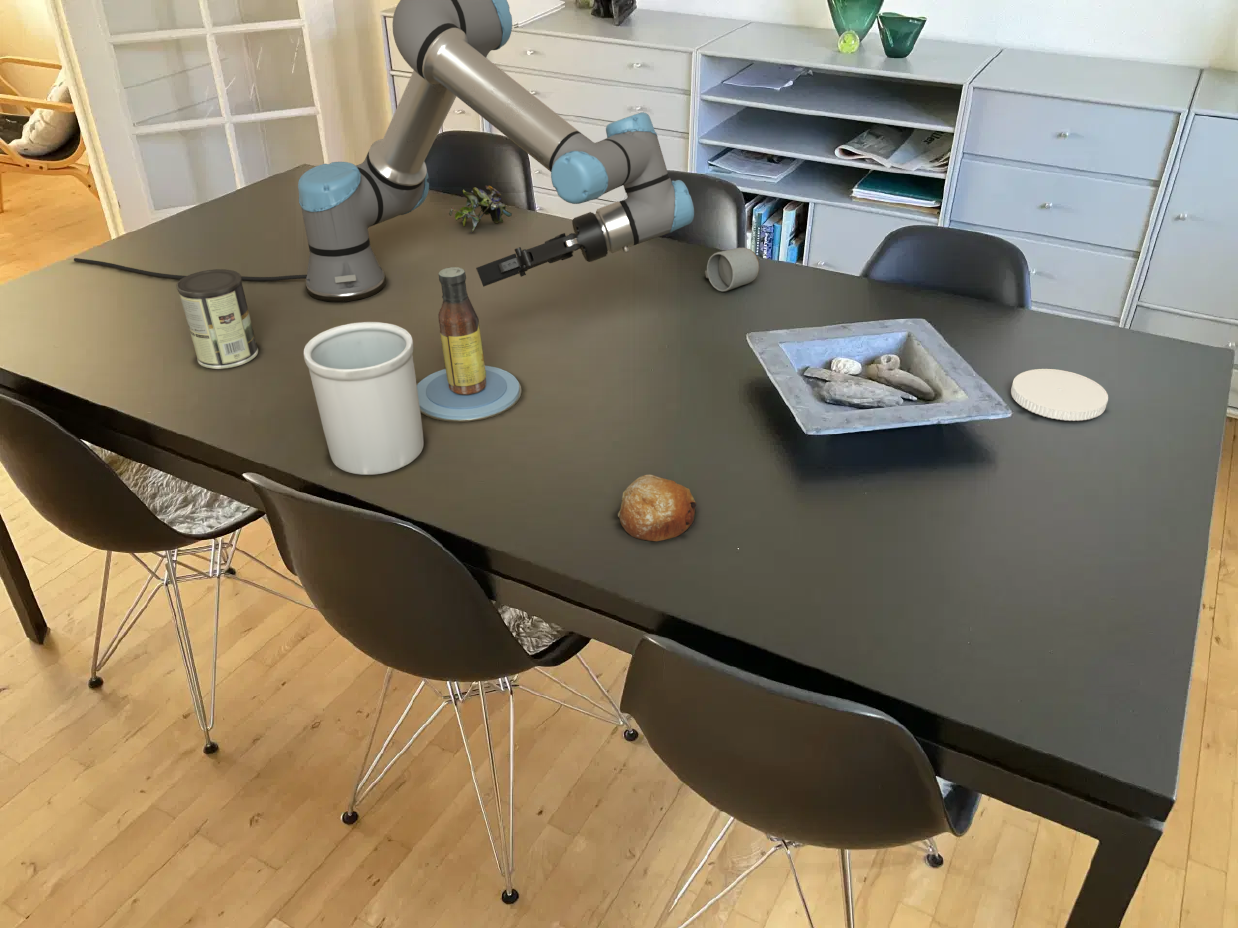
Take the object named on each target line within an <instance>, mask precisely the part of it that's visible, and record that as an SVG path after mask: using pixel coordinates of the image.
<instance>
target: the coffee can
mask: <svg viewBox="0 0 1238 928" xmlns="http://www.w3.org/2000/svg"><path fill="white" fill-rule="evenodd" d="M185 276H186V277H184V278H182V279H179V280H178V281H177V283H176V284H175V285H176V290H177V292H178V294H179V298H180V302H181V305H182V308H183V309H182V310H183V312H184V315H185V319H186V323H187V326H188V331H189V333H190V336H191V341H192V345H193V349H194V351H195V355H196V358H197V359H196V361H197V363H198V364H199V365H200V366H201V367H203V368H207V369H213V370H226V369H231V368H235V367H239V366H243V365H245V364H247V363H249V362H251V361H252V360H253V359H255V358H256V357H257V356H258V354H259V348H258V345H257V342H256V336H255V334H254V333H255V332H254V329H253V325H252V320H251V316H250V311H249V308H248V304H247V299H246V294H245V291H244V286H243V280H242V278H241V276H242V275H241V273H240V272H238V271H235V270H231V269H227V268H226V269H224V268H216V269H207V270H201V271H196V272H193V273H191V274H188V275H185Z"/></svg>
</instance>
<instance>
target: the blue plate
mask: <svg viewBox="0 0 1238 928" xmlns="http://www.w3.org/2000/svg"><path fill="white" fill-rule="evenodd" d="M485 371H486V386H485V388H484V389H483V390H481V391H480V392H478V393H476V394H471V395H460V394H456V393H454V392H453V391H451V390H450V388H449V383H448V381H447V375H446V368H444V369H440V370H438V371H437V370H436V371H435V372H433V373H431V374H428V375H427V376H425V377H424V378H422V379H421V380H420V381H419V382H418V383H417V391H418V399H419V406H420V413H421V415H424V416H426V417H428V418H431V419H433V420H437V421H442V422H450V423H468V422H470V423H471V422H478V421H482V420H488V419H491V418H494V417H497V416H498V415H502V414H503V413H506V412H507V411H509V410H510V409H512V408H513V407H515V406H516V404H517V403H518V402H519V401H520V399H521V397H522V391H523V390H522V385H521V384H520V383H521V382H519V381H518V379H517V378H516V376H515V375H513V374H512V373H510V372H509V371H507V370H505V369H502V368H500V367H495V366H492V365H491V366H490V365H485Z"/></svg>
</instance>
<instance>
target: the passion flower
mask: <svg viewBox="0 0 1238 928" xmlns="http://www.w3.org/2000/svg"><path fill="white" fill-rule="evenodd" d="M484 187H485V189H486V190H487V191H488V192H489V193H487V192H486V191H485V190H483V189H479V188H477V187H473V188H472V190H471V192H469V191H466V190H465V189H463V190H462V193H463V195H464V196H465V197H466V202H465V205H464V206H461V207H460V208H459V210H457V209H455V207H453V206H451V207H450V209H449V212H448V214H449V216H453V215H452V214H453V212H455V213H454V219H455V221H456V222H457V221H458V220H460V219H461V221H462V225H463V227H464V228H465V227H466V223H467V220H468V219H469V218H471V221H472V222H471V223H472V230H471V231H470V233H471V234H473V232H474V231H475V228H476V227H477V226H478V224H479V223H480V222H481V221H482V220H481V219H482V218H483V217H484V215H485V216H488V215H490V218H491V221H492V222H493V223H494V224H499V223H502V224H503V223H504V219H503V218H502V216H503V215H504V216H506V217H512V215H513V213H512V212H510V211H508V210H507V206H506V204H505V203H504V202H503V203H502V202H501V201H500V200H501V199H502V198H499V197H500V196H502V194H501V192H500V191H499V190H497V189H496V188H494V187H492V186H491V185H485V186H484ZM494 195H495V196H494ZM493 196H494V197H493ZM479 207H480V211H479V213H478V214H477V213H476V212H475V211H476V209H477V208H479ZM481 213H482V214H481ZM472 215H473V216H472Z"/></svg>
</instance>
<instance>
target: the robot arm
mask: <svg viewBox="0 0 1238 928" xmlns="http://www.w3.org/2000/svg"><path fill="white" fill-rule="evenodd" d="M510 8H511V7H510V4H509V2H508V0H399V1H398V3H397V5H396V7H395V10H394V12H393V16H392V25H391V26H392V35H393V40H394V43H395V46H396V48H397V50H398V52H399V54H400V55H401V57H402V59H403V60H404V61H405V62H406V64H407V65H408V66H409V67H410V68H411V69H412V70H413V71H412V73H411V75H410V78H409V79H408V82H407V84H406V86H405V89H404V90H403V93H402V96H401V97H400V100H399V102H398V104H397V107H396V109H395V111H394V113H393V115H392V118H391V119H390V122H389V124H388V127H387V129H386V131H385V134H384V136H383V138H380V139H377V140H375V141H374V142H373V143H372V144H371V145H370V147H369V149H368V152H367V154H366V156H365V158H364V160H363V161H362V162H361V163H359V164H354V163H352V162H348V161H332V162H330V163H322V164H319V165H316V166H314V167H312V168H310V169H308V170H306V171H305V172H304V173H303V174H302V175H301V176H300V177H299V179H298V182H297V183H298V184H297V188H298V189H297V190H298V203H299V206H300V208H301V213H302V218H303V224H304V228H305V229H304V230H305V235H306V240H307V245H308V250H309V251H308V252H309V257H308V264H307V270H306V271H307V272H306V274H293V275H282V276H280V275H279V276H242V275H241V278H242V281H253V282H274V281H275V282H276V281H287V280H303V279H304V280H305V286H306V292H307V294H308V295H309V296H310V297H311V298H313V299H316V300H318V301H323V302H332V303H336V302H337V303H343V302H352V301H358V300H363V299H366V298H368V297H371V296H374V295H377V293H379V292H380V291H381V290H383V289H384V288H385V286H386V278H385V272H384V270H383V269H382V267H381V265H380V264H379V262H378V259H377V257H376V255H375V254H374V250H373V248H372V246H371V241H370V240H371V239H370V233H369V228H371V227H373V226H375V225H378V224H382V223H384V222H386V221H388V220H391V219H394V218H397V217H399V216H403V215H407V214H409V213H412V212H413V211H414V210H415V209H417V208H419V207H420V206H421V205H423V204H424V202H425V201H426V199H427V197H428V194H429V191H430V183H429V182H428V179H429V173H428V170H427V164H426V162H425V161H426V158H428V157H427V156H428V155H429V152H430V150H431V148H432V146H433V144H434V143H435V140H436V138H437V136H438V134H439V132H440V131H441V129H442V126H443V125H444V122H445V121H446V118H447V117H448V114H449V113H450V110H451V108H452V106H453V104H454V103H455V100H456V99H457V98H458V99H459V100H460V101H461V102H463V103H464V104H465V105H467V106H468V107H469V109H471V110H473V112H475V113H476V114H478V115H479V116H480V117H481V118H483V119H484V120H485V121H486V122H487V123H489V124H490V125H492V127H494V128H495V129H497V130H498V131H499V132H500V133H501V134H503V135H504V136H505V137H507V138H508V139H509V140H510V141H511V142H512V143H514V144H515V145H516V146H518V147H519V148H520V149H521V150H523V152H525V153H526V154H527V155H529V156H530V157H531V158H532V159H534V160H535V161H536V162H537V163H539V164H540V165H541V166H542V167H544V168H545V169H547V170H548V171H549V172H550V178H551V179H550V180H551V184H552V187H553V188H554V189H555V191H556V192H557V196H558V197H559V198H560V199H561V200H563V201H564V202H566V203H569V204H572V205H580V204H584V203H587V202H590V201H595V200H597V199H599V198H600V197H602V196H603V195H605V194H607V193H609V192H612V191H613V190H615V189H618V188H620V187H623V189H624V193H625V194H626V198H624V199H623V200H620V201H615V202H612V203H610V204H608V205H604V206H601V207H599V208H597V209H596V210H595V213H594V212H591V211H589V212H586V213H584V214H581V215H578V216H575V217H574V218H572V220H571V223H572V230H573V232H570V233H569V234H567V235H566V233H565V232H563V233H560V234H558V235H556V236H554V237H553V238H550V239H547V240H545V241H544V243H541V244H538V245H537V246H533V247H530V248H528V249H526V248H524V249H522V247H521V246H520V247H517V248H514V252H515V253H513V254H510V255H508V256H505V257H502V258H499V259H496V260H494V261H492V262H491V261H490V262H488V263H485V264H483V265H480V266H477V267H476V268H475V269H476V272H477V274H478V277H479V279H480V282H481V284H482V287H486V286H489V285H492V284H495V283H497V282H500V281H502V280H505V279H508V278H511V277H514V276H516V275H519V276H520V278H522V277H524V276H527V273H526V272H528V270H531V269H534V268H536V267H538V266H541V265H544V264H546V263H549V264H553V263H556V262H559V261H566V260H568V259H570V258H573V257H574V255H573V253H574V252H575V251H579V250H580V251H581V254H582V256H583V258H584V260H585V261H586V262H588V263H592V262H594V261H596V260H597V261H598V260H600V259H602V258H605V257H607V255H608V253H611V254H615V253H617V252H620V251H621V250H622V251H623V253H629V251H630V248H629V247H631V248H632V247H633V246H636V245H640V244H642V243H646V242H648V241H651V240H654V239H657V238H659V237H662V236H665V235H668V234H671V233H673V232H674V231H677V230H679V229H682V228H683V227H686V226H689V225H690V224H692V222H693V220H694V218H695V207H694V202H693V200H692V196H691V194H690V193H689V189H688V186H687V185H686V183H685V182H684V181H682V180H681V179H675V180H671V179H672V178H671V177H670V175H669V173H668V168H667V165H666V162H665V158H664V154H663V151H662V148H661V145H660V142H659V138H658V134H657V132H656V130H655V126H654V125H653V122H652V119H651V117H650V115H649V113H646V112H643V111H641V112H637V113H634V114H632V115H629V116H627V117H624V118H621V119H618V120H616V121H613V122H610V123H608V124H607V125H606V126H605V134H606V138H604V139H602V140H599V141H597V142H594V141H592V140H591V139H590V138H589V137H587V135H585V134H583V133H582V132H581V131H579V130H578V129H577V128H576V127H574V126H573V125H572V124H571V123H570V122H568V121H567V120H565V119H564V118H563V117H562V116H560V115H559V114H558V113H556V111H554V110H553V109H551V108H550V107H549V106H548V105H547V104H545V103H544V102H543V101H541V100H540V99H539V98H538V97H536V96H535V95H534V94H533V93H531V92H530V91H529V90H527V89H526V88H525V87H523V86H522V85H521V84H520V83H519V82H518V81H516V80H515V79H514V78H512V77H511V76H510V75H508V74H507V73H506V72H505V71H504V70H502V69H501V68H500V67H498V65H496V64H494V63H493V62H492V61H491V60H490V59H488V58H487V57H488V56H489V53H490V52H491V51H498V50H500V49H501V48H502V47H504V46H505V45H506V44H507V43H508V42H509V40H510V38H511V34H512V31H513V16H512V14H511V12H510ZM73 261H74V263H75V262H76V263H80V264H81V263H82V264H90V265H97V266H103V267H108V268H113V269H117V270H120V271H121V270H122V271H127V272H131V273H135V274H140V275H145V276H149V277H157V278H163V279H164V278H165V279H173V280H181V279H182V278H184V277H186V276H187V275H180V274H169V273H161V272H154V271H149V270H143V269H139V268H134V267H129V266H125V265H120V264H116V263H112V262H106V261H100V260H94V259H86V258H80V257H74V258H73Z"/></svg>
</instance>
